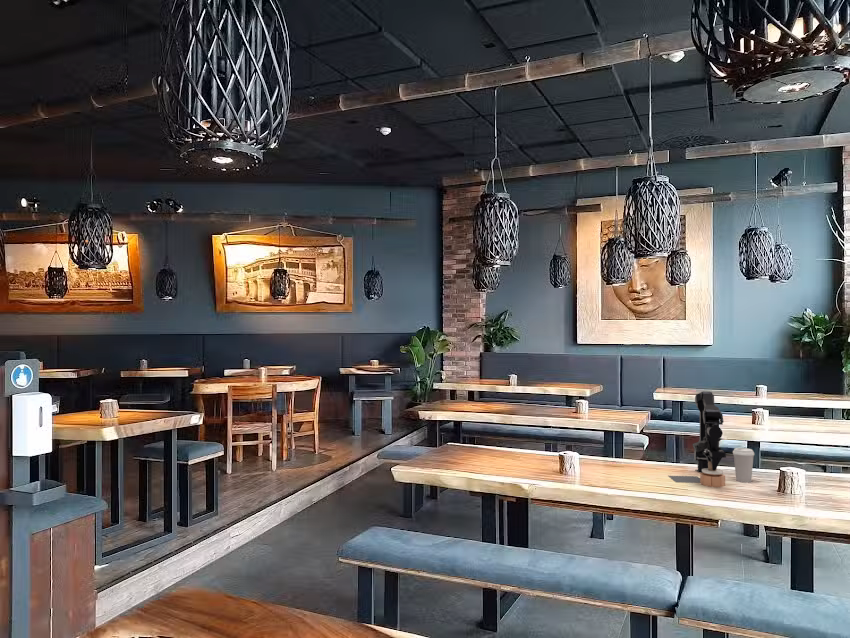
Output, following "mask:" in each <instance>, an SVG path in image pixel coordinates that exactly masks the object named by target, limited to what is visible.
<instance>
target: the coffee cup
mask: <svg viewBox="0 0 850 638" xmlns="http://www.w3.org/2000/svg"><path fill="white" fill-rule="evenodd" d="M732 454H733V459H734V460H733V461H734V470H735V472H734V473H735V480H736V481H737V482H740V483H752V480H753V479H752V478H753V468H754V467H753V465H754V456H755V452H754V450H753V449H752V448H745V447H735V448H734V449H733V450H732Z"/></svg>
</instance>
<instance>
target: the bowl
mask: <svg viewBox="0 0 850 638" xmlns="http://www.w3.org/2000/svg"><path fill="white" fill-rule="evenodd" d="M699 478H700V483H699V484H701V485H702V486H705V487H706V486H707V487H712V488H721V487H722V488H723V487H725V486H726V475H725V474H724V473H723V474H720V475H714V474H706V473H699Z"/></svg>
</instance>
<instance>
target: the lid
mask: <svg viewBox="0 0 850 638" xmlns="http://www.w3.org/2000/svg"><path fill="white" fill-rule="evenodd" d="M702 472H703V473H706V474H714V475H720V474H723V475H724V471H723V469H719V468H716V470H713V469H712V464H711V461H708V468H704V469H702Z"/></svg>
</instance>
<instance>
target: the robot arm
mask: <svg viewBox="0 0 850 638" xmlns="http://www.w3.org/2000/svg"><path fill="white" fill-rule="evenodd" d="M694 403H695V406H696V408H697V409H698V411H699V440H698V441H697V442H694V443H692V447H693V450H694V451H693V452H694V454H693V457H694V461H697V469H695V471H696V472H698V473H699V474H700V473H703V472H702V469H704V468H708V461H711V464H712V469H713V470H716V468H717V467H718V466H719V464H720V462H721V461H722V459H723V458H726V459H727V452H725V451H724V450H723V449H721V446H720V442H721V438H722V437H723V431H722V428H721V427H720V426H722V425H723V423H724V415H723V413H722V411H721V410H720V407H718V406H716V405H715V394H714V393H713V391H701V392H699V393H697V394H695V396H694ZM717 469H718V468H717Z"/></svg>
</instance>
